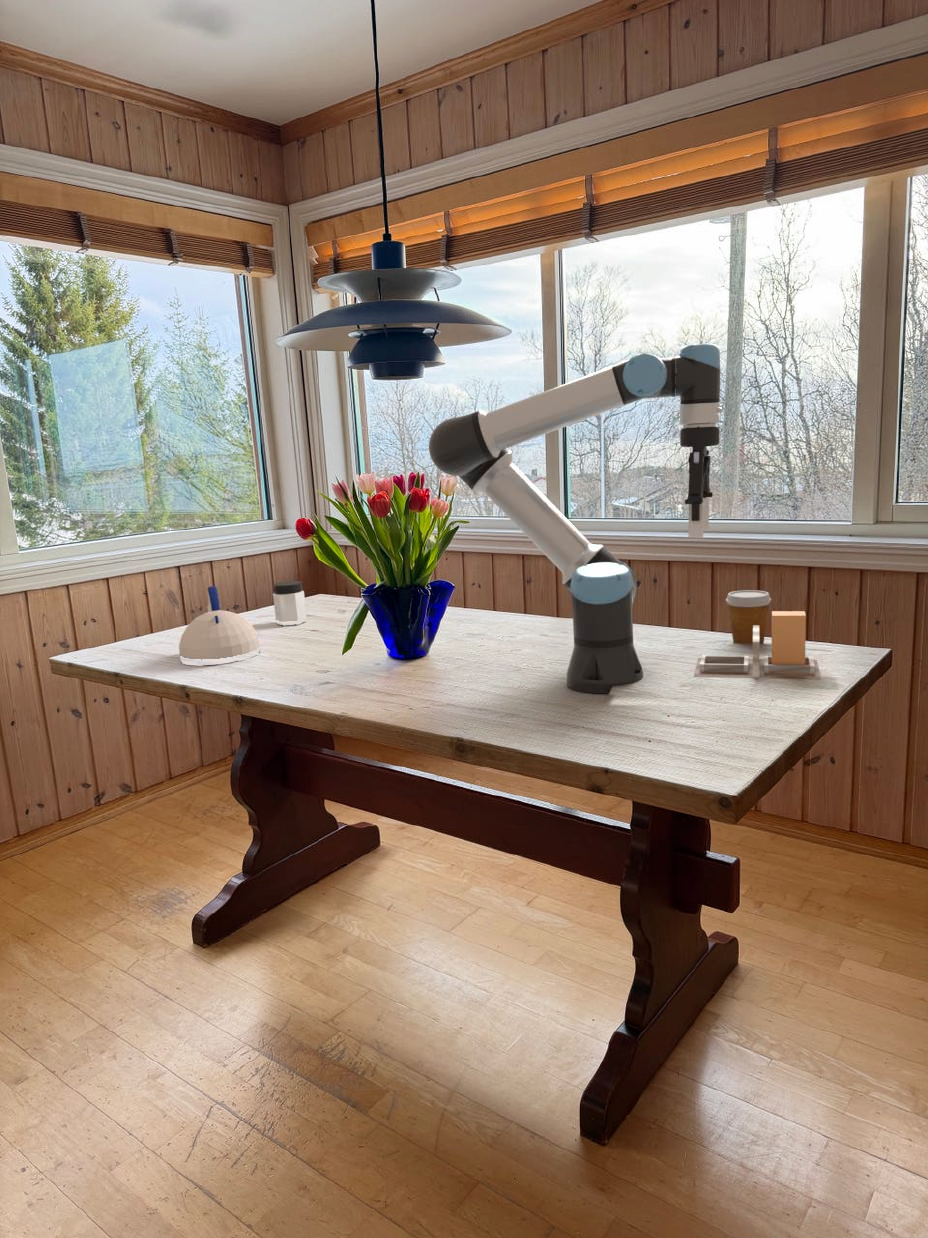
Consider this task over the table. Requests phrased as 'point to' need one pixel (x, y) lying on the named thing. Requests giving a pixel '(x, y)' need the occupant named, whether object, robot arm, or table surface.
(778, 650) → the block
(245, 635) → the beige dome cover
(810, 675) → the divided caddy with handle
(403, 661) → the table surface
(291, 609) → the jar
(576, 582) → the robot arm
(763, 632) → the disposable coffee cup
